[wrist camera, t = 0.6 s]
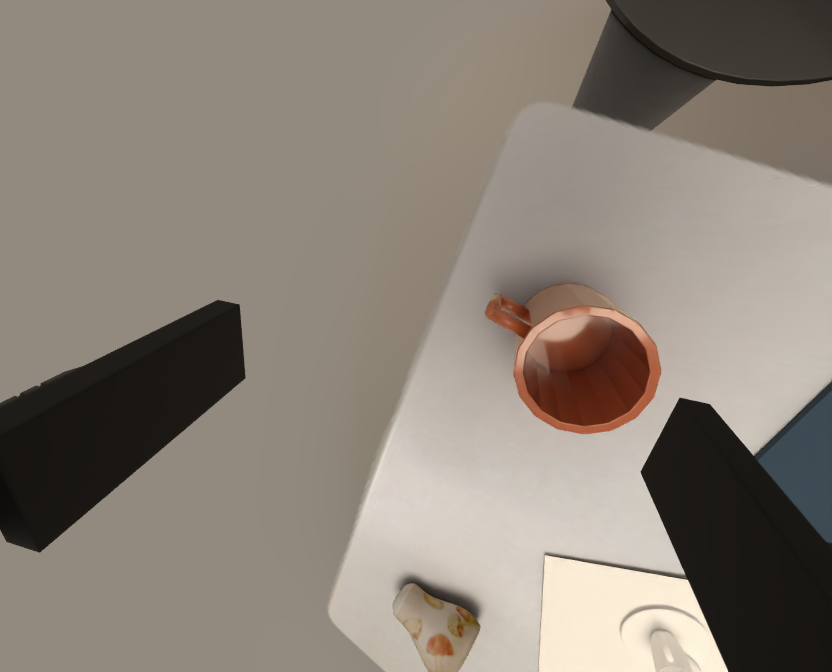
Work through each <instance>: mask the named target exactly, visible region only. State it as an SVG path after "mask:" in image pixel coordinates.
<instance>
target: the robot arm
mask: <svg viewBox="0 0 832 672" xmlns="http://www.w3.org/2000/svg"><path fill="white" fill-rule="evenodd" d="M244 379H245V368H244V355H243V341H242V329H241V317H240V305H239V304H234V303H230V302H225V301H220V300H217V301H215V302H213V303H211V304H209V305H206V306H204V307H202V308H200V309H198V310H196V311H194V312H192V313H190V314H188V315H186V316H184V317H182V318H180V319H178V320H176V321H174V322H172V323H170V324H168V325H166V326H164V327H162V328H160V329H158V330H156V331H154V332H152V333H150V334H148V335H145V336H144V337H142V338H139V339H138V340H135V341H133V342H131V343H129V344H127V345H125V346H123V347H121V348H119V349H117V350H115V351H113V352H111V353H109V354H107V355H105V356H103V357H101V358H99V359H97V360H95V361H93V362H91V363H89V364H87V365H85V366H82V367H79V368H75V369H72V370H69V371H65V372H63V373H61V374H59V375H57V376H55V377H53V378H51V379H49V380H47V381H45V382H43V383H41V385H40V386H34V387H32V388H30V389H28V390H26V391H24V392H22V393H20V396H18V397H17V396H14V397H12V398H10V399H8V400H6V401H3V402H2V403H0V530H1V532H2V534H3V536H4V538H5V540H6V541H7V542H9V543H12V544H15V545H18V546H21V547H24V548H28V549H30V550H33V551H37V552H41V551H42V550H43V549H45V548H46V547H47V546H48V545H49V544H50V543H52V542H53V541H54V540H55V539H56V538H58V537H59V536H60V535H61V534H62V533H63V532H64V531H66V530H67V529H68V528H69V527H70V526H72V525H73V524H74V523H75V522H76V521H77V520H79V519H80V518H81V517H82V516H83V515H85V514H86V513H87V512H88V511H89V510H90V509H92V508H93V507H94V506H95V505H96V504H97V503H99V502H100V501H101V500H102V499H103V498H105V497H106V496H107V495H108V494H109V493H111V491H113V490H114V489H115V488H116V487H118V486H119V485H120V484H121V483H122V482H124V481H125V480H126V479H127V478H128V477H129V476H130V475H132V474H133V473H134V472H135V471H136V470H137V469H139V468H140V467H141V466H142V465H144V464H145V463H146V462H147V461H148V460H149V459H150V458H152V457H153V456H154V455H155V454H156V453H158V452H159V451H160V450H161V449H162V448H164V447H165V446H166V445H167V444H168V443H169V442H171V441H172V440H173V439H174V438H175V437H176V436H178V435H179V434H180V433H181V432H182V431H184V430H185V429H186V428H187V427H188V426H190V425H191V424H192V423H193V422H194V421H195V420H197V419H198V418H199V417H200V416H201V415H202V414H204V413H205V412H206V411H207V410H208V409H209V408H211V407H212V406H213V405H214V404H215V403H217V402H218V401H219V400H220V399H221V398H222V397H224V396H225V395H226V394H227V393H228V392H230V391H231V390H232V389H233V388H234V387H235V386H237V385H238V384H239V383H240V382H241V381H243V380H244ZM641 474H642V477H643V479H644V481H645V483H646V486H647V488H648V490H649V492H650V495H651V497H652V499H653V502H654V504H655V506H656V508H657V511H658V513H659V515H660V518H661V520H662V522H663V524H664V527H665V529H666V531H667V533H668V536H669V538H670V540H671V543H672V545H673V547H674V549H675V552H676V554H677V556H678V559H679V561H680V563H681V565H682V568H683V570H684V572H685V574H686V577H687V579H688V581H689V584H690V586H691V588H692V590H693V593H694V595H695V597H696V599H697V602H698V604H699V606H700V609H701V611H702V613H703V615H704V618H705V620H706V622H707V625H708V627H709V629H710V631H711V634H712V636H713V638H714V640H715V643H716V645H717V647H718V650H719V652H720V654H721V656H722V659H723V661H724V663H725V666H726V668H727V670H728V672H832V543H829V542H826V541H825V540H824V539H823V538H822V537H821V535H820V534H819V533H818V532H817V531H816V529H815V528H814V527H813V526H812V525H811V523H810V522H809V521H808V520H807V519H806V518H805V516H804V515H803V514H802V513H801V512H800V510H799V509H798V508H797V507H796V506H795V505H794V503H793V502H792V501H791V500H790V499H789V497H788V496H787V495H786V494H785V493H784V491H783V490H782V489H781V488H780V487H779V486H778V484H777V483H776V482H775V481H774V480H773V478H772V477H771V476H770V475H769V474H768V473H767V471H766V470H765V469H764V468H763V467H762V465H761V464H760V463H759V462H758V461H757V460H756V458H755V457H754V456H753V455H752V454H751V452H750V451H749V450H748V449H747V448H746V446H745V445H744V444H743V443H742V442H741V441H740V439H739V438H738V437H737V436H736V435H735V433H734V432H733V431H732V430H731V429H730V428H729V426H728V425H727V424H726V423H725V422H724V420H723V419H722V418H721V417H720V416H719V414H718V413H717V412H716V411H715V410H714V409H713V407H712V406H711V405H710V404H707V403H702V402H697V401H693V400H688V399H683V398H679V400H678V402H677V404H676V406H675V408H674V409H673V411H672V413H671V415H670V417H669V419H668V421H667V423H666V425H665V427H664V428H663V430H662V432H661V434H660V436H659V438H658V440H657V442H656V444H655V445H654V447H653V449H652V451H651V453H650V455H649V457H648V459H647V461H646V463H645V464H644V466H643V468H642V470H641Z"/></svg>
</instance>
